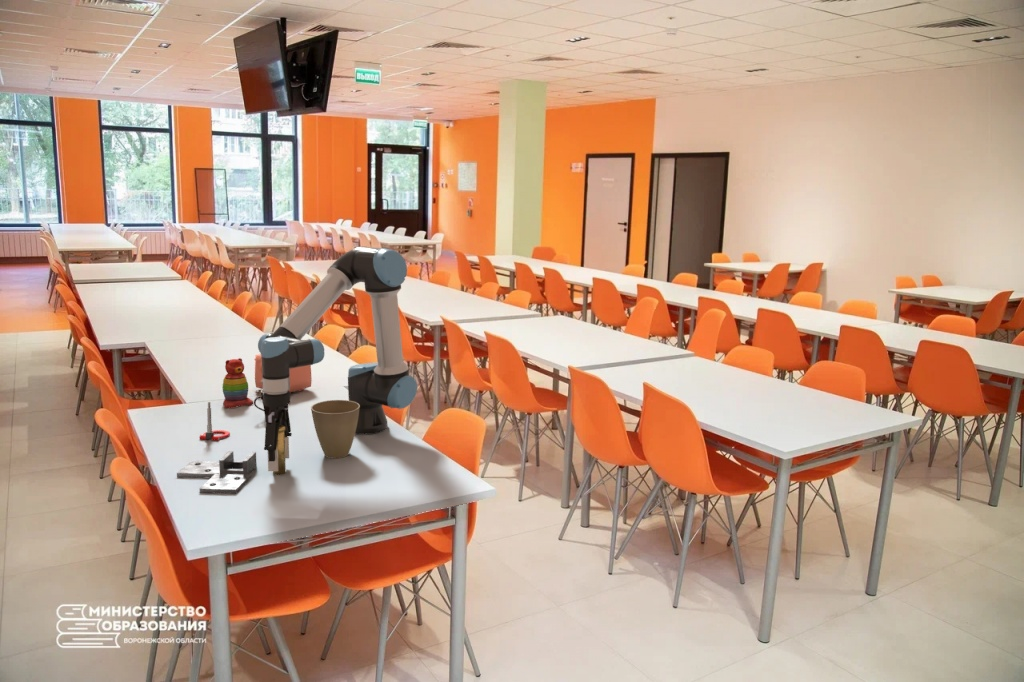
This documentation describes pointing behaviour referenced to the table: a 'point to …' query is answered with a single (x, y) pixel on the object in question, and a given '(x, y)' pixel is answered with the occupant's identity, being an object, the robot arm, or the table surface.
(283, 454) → the brass hinge pin
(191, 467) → the hinge leaves
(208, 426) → the tow hook
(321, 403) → the plant pot
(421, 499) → the table surface
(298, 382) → the teapot
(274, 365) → the robot arm
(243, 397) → the stacking bear
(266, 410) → the coffee mug
